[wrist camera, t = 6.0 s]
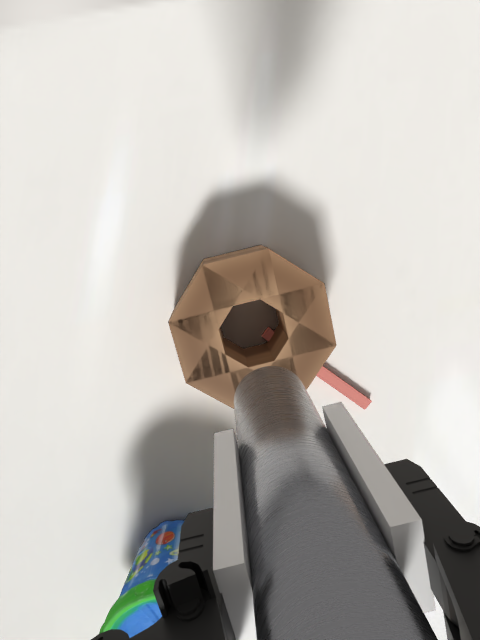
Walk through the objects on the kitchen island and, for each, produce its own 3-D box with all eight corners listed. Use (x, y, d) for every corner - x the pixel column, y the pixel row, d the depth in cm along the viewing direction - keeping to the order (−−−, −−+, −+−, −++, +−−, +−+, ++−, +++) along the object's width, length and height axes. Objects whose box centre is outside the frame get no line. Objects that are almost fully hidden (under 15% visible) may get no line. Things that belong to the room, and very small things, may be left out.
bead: (199, 397, 38) (197, 423, 34) (162, 269, 36) (154, 276, 31) (327, 365, 38) (344, 386, 34) (301, 234, 36) (315, 236, 31)
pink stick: (261, 335, 37) (261, 337, 37) (268, 326, 37) (268, 328, 37) (362, 407, 40) (364, 409, 39) (369, 399, 39) (371, 401, 39)
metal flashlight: (242, 442, 21) (313, 1046, 6) (224, 375, 20) (253, 874, 5) (314, 425, 21) (579, 982, 6) (299, 357, 20) (566, 799, 5)
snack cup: (163, 625, 44) (149, 743, 34) (85, 567, 42) (45, 675, 32) (272, 530, 42) (291, 624, 32) (196, 464, 40) (191, 544, 30)
